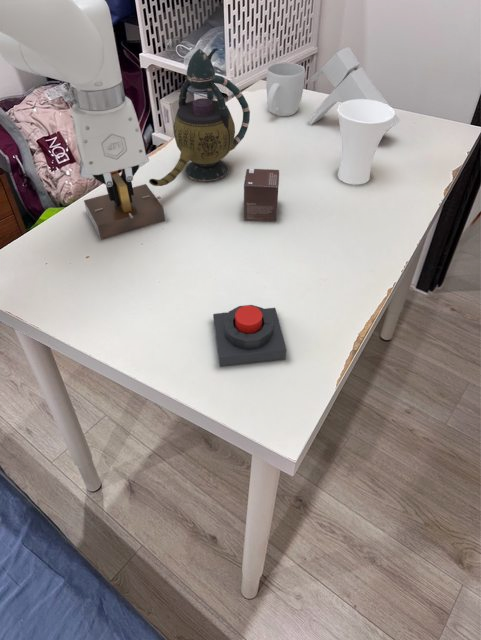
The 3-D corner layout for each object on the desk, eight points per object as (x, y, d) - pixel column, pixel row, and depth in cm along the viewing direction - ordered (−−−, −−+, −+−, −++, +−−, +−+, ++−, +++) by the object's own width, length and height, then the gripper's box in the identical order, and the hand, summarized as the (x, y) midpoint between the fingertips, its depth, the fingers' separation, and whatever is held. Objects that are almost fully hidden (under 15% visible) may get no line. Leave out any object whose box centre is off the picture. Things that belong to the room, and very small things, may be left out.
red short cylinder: (237, 335, 61) (237, 326, 60) (233, 315, 64) (233, 306, 62) (263, 332, 62) (264, 323, 60) (259, 313, 64) (259, 304, 63)
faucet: (388, 129, 100) (335, 48, 97) (338, 168, 113) (290, 98, 111) (401, 119, 103) (350, 41, 101) (351, 158, 117) (305, 90, 114)
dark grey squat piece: (219, 367, 62) (218, 348, 59) (213, 324, 68) (212, 304, 65) (285, 360, 63) (287, 340, 60) (274, 317, 68) (275, 298, 66)
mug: (275, 101, 122) (277, 59, 114) (306, 108, 119) (311, 66, 111) (252, 120, 114) (253, 76, 107) (285, 127, 111) (288, 83, 104)
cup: (389, 176, 96) (406, 110, 86) (359, 196, 91) (373, 128, 81) (347, 159, 101) (359, 94, 91) (317, 176, 96) (325, 110, 86)
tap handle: (131, 210, 82) (126, 184, 78) (124, 212, 82) (118, 186, 78) (121, 194, 86) (115, 168, 82) (114, 196, 85) (108, 170, 82)
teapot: (254, 161, 100) (256, 40, 83) (181, 217, 86) (166, 85, 69) (208, 147, 105) (202, 29, 88) (132, 198, 91) (107, 69, 74)
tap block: (102, 242, 81) (98, 227, 79) (86, 212, 87) (82, 197, 85) (166, 223, 85) (164, 208, 83) (147, 196, 91) (144, 181, 89)
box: (276, 223, 85) (278, 187, 79) (243, 221, 85) (243, 185, 80) (277, 204, 89) (279, 169, 83) (246, 202, 89) (246, 167, 84)
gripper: (51, 114, 65) (84, 223, 79) (156, 93, 70) (170, 199, 84) (41, 95, 70) (73, 201, 83) (140, 77, 75) (156, 180, 88)
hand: (122, 200), depth 83 cm, fingers closed
